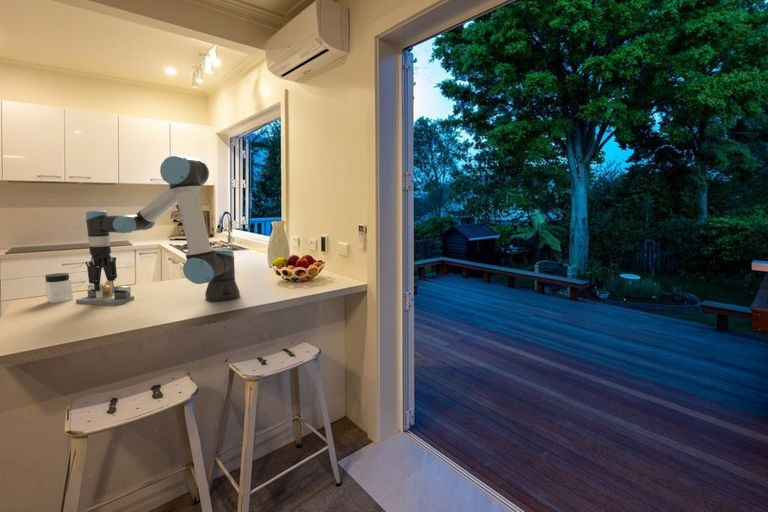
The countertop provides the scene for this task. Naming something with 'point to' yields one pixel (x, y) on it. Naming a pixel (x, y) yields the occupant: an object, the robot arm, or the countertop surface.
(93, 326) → the countertop surface
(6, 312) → the countertop surface
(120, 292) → the grey metal block
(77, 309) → the countertop surface
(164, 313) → the countertop surface
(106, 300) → the board
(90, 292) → the shaft
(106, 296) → the coupler
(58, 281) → the jar
